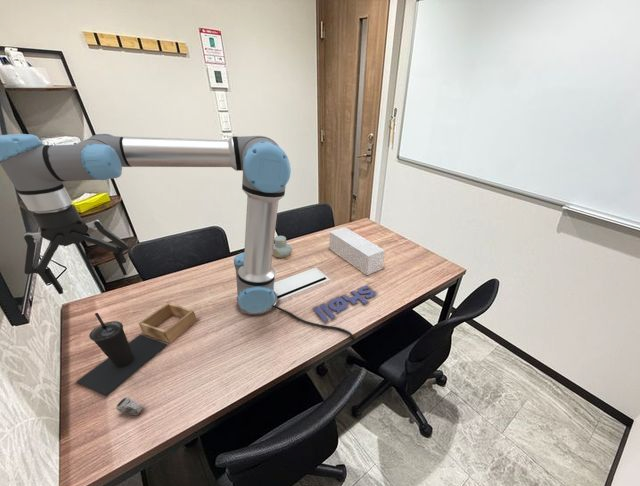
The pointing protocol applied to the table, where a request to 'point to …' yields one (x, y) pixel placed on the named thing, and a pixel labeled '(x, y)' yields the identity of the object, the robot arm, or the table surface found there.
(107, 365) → the mat
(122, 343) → the drinking cup
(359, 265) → the white rectangular block
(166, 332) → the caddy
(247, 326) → the table surface
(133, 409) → the grey stone
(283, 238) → the air freshener
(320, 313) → the signage
